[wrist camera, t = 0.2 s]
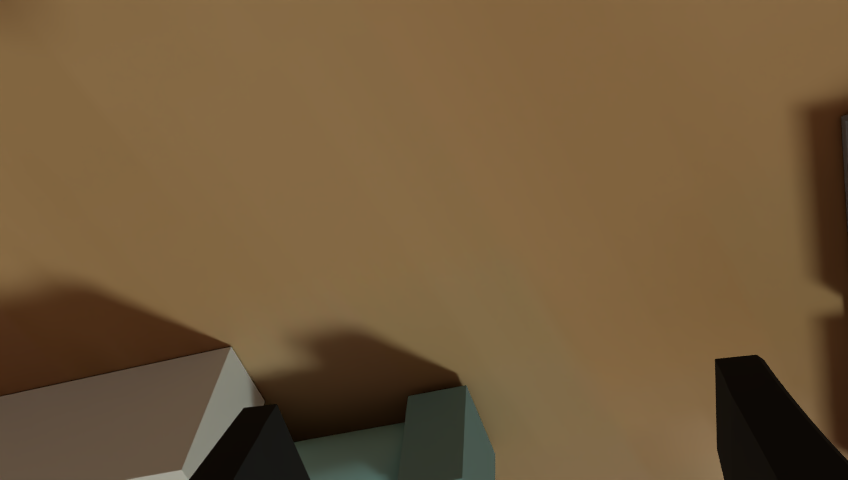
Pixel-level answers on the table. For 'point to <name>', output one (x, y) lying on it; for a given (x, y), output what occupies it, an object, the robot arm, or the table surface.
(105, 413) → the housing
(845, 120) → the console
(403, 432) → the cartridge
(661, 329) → the table surface
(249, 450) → the robot arm
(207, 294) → the table surface
